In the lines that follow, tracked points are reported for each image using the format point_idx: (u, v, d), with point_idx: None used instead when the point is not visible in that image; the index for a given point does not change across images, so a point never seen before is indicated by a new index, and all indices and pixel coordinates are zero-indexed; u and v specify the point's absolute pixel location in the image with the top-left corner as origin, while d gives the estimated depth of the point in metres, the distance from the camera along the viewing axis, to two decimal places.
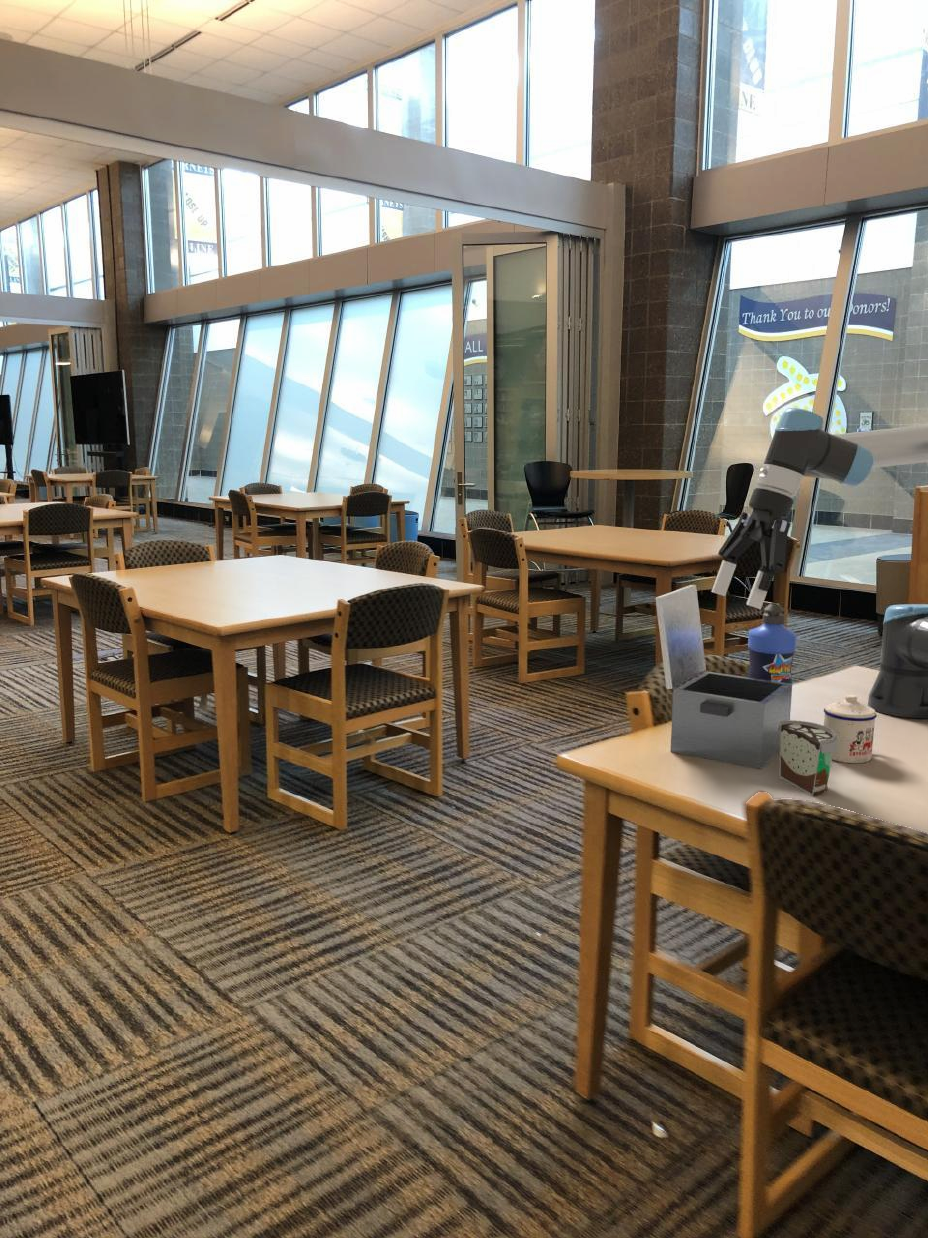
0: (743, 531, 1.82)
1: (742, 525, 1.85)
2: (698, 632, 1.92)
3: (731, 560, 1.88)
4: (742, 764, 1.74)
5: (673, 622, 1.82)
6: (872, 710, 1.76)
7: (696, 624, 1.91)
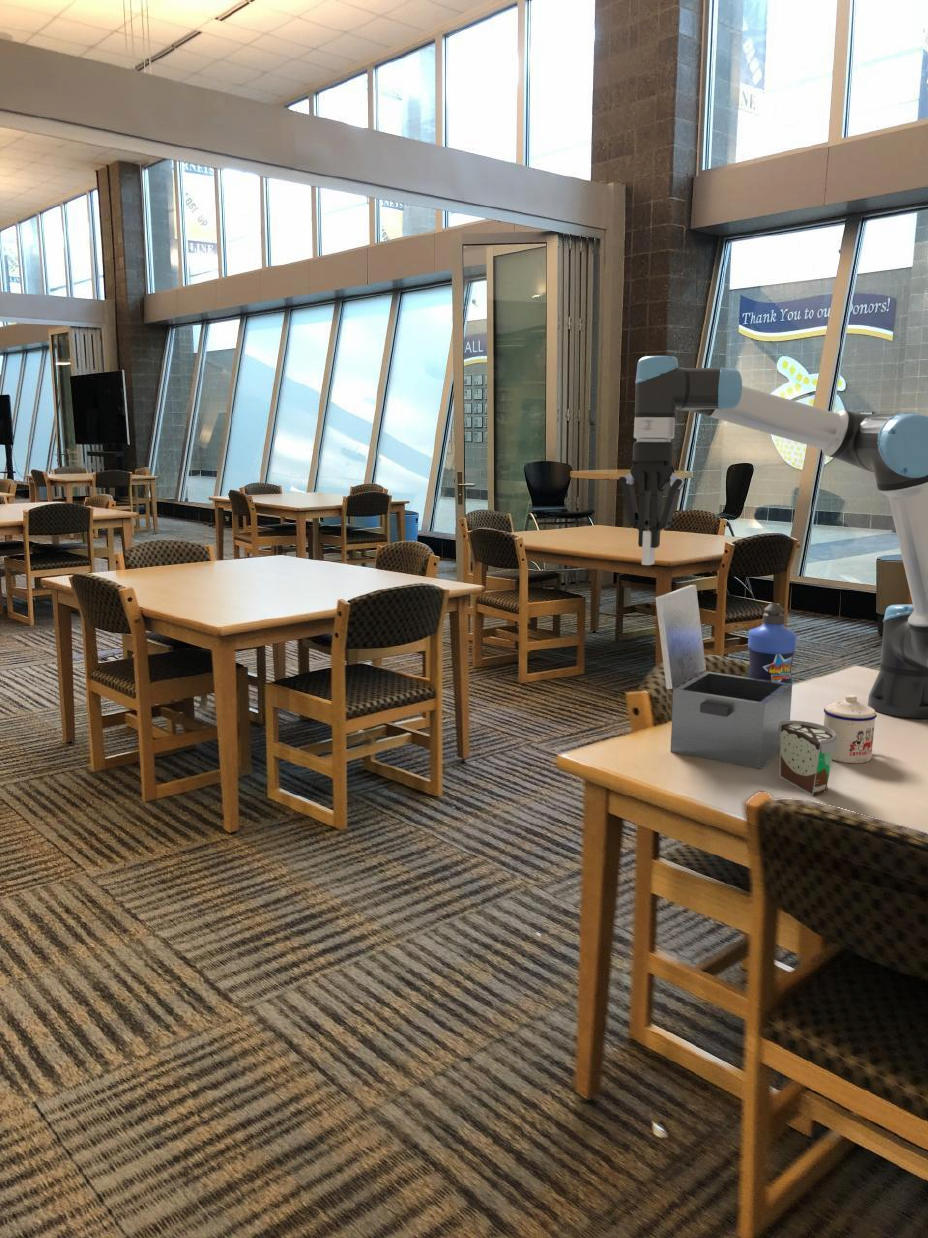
0: (642, 488, 1.84)
1: (629, 486, 1.86)
2: (698, 632, 1.92)
3: (647, 525, 1.87)
4: (742, 764, 1.74)
5: (673, 622, 1.82)
6: (872, 710, 1.76)
7: (696, 624, 1.91)
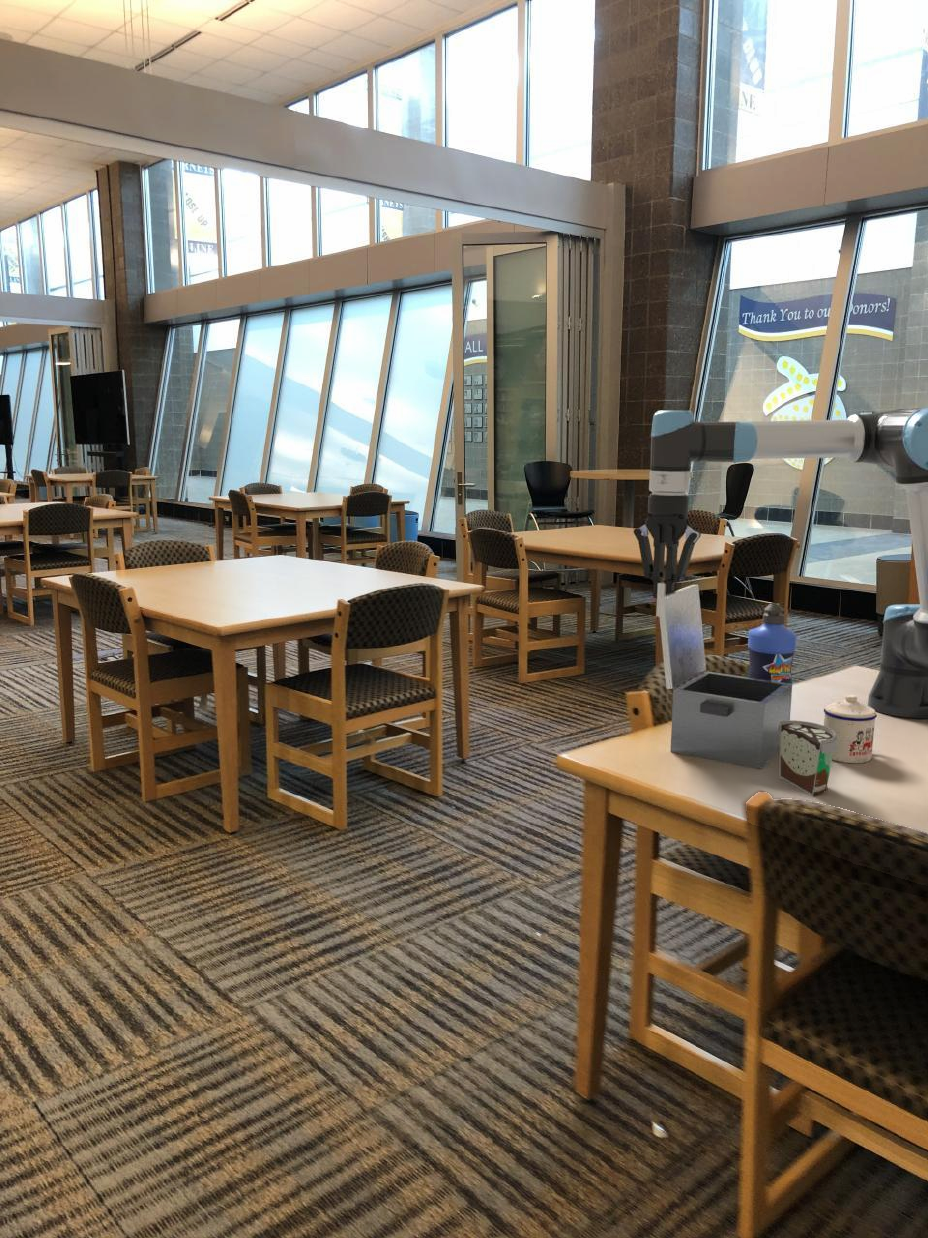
0: (657, 541, 1.84)
1: (644, 538, 1.86)
2: (699, 632, 1.91)
3: (661, 577, 1.87)
4: (742, 764, 1.74)
5: (675, 622, 1.81)
6: (872, 710, 1.76)
7: (697, 624, 1.91)
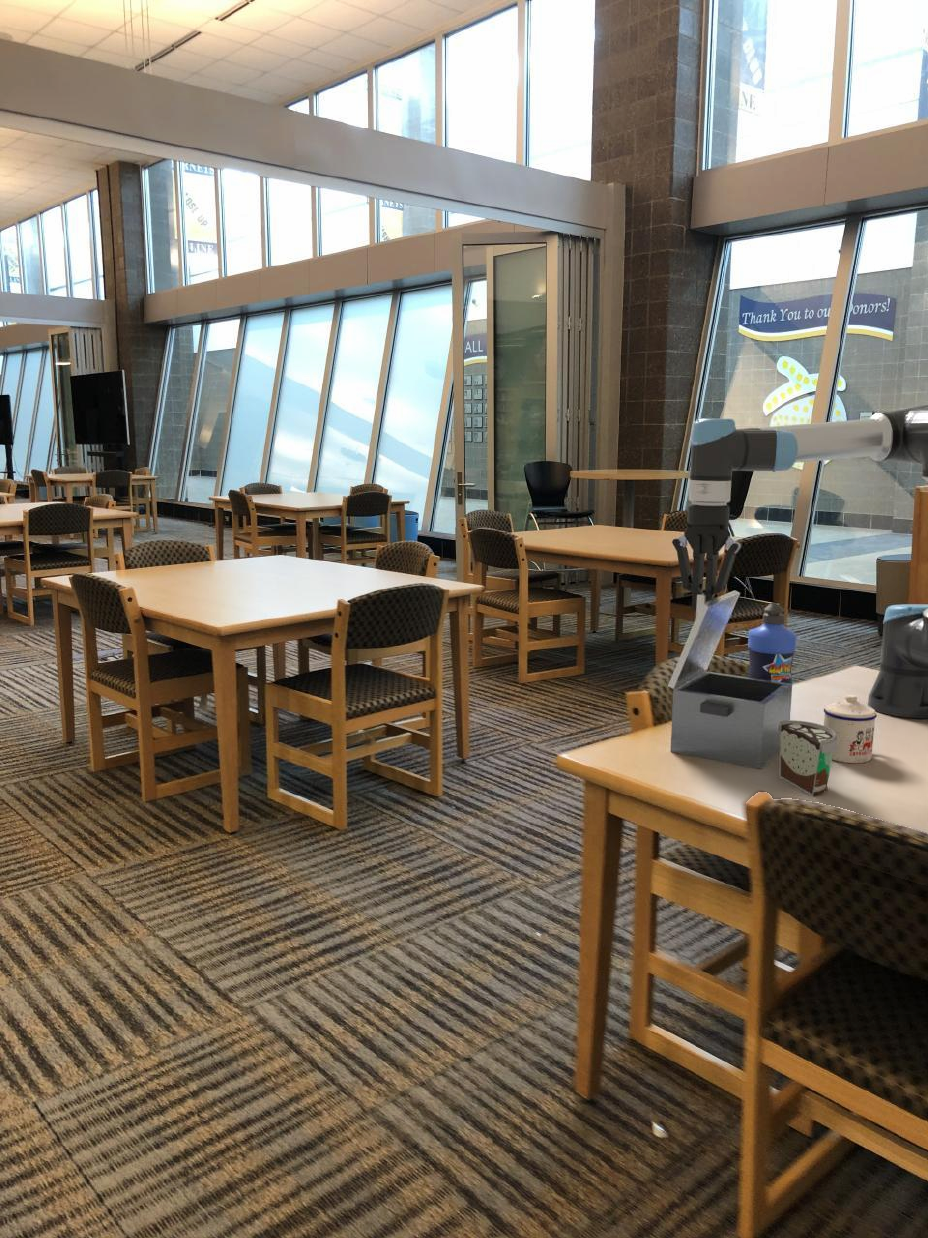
0: (696, 552, 1.80)
1: (683, 548, 1.82)
2: (718, 637, 1.89)
3: (701, 588, 1.83)
4: (742, 764, 1.74)
5: (705, 628, 1.78)
6: (872, 710, 1.76)
7: (721, 629, 1.88)
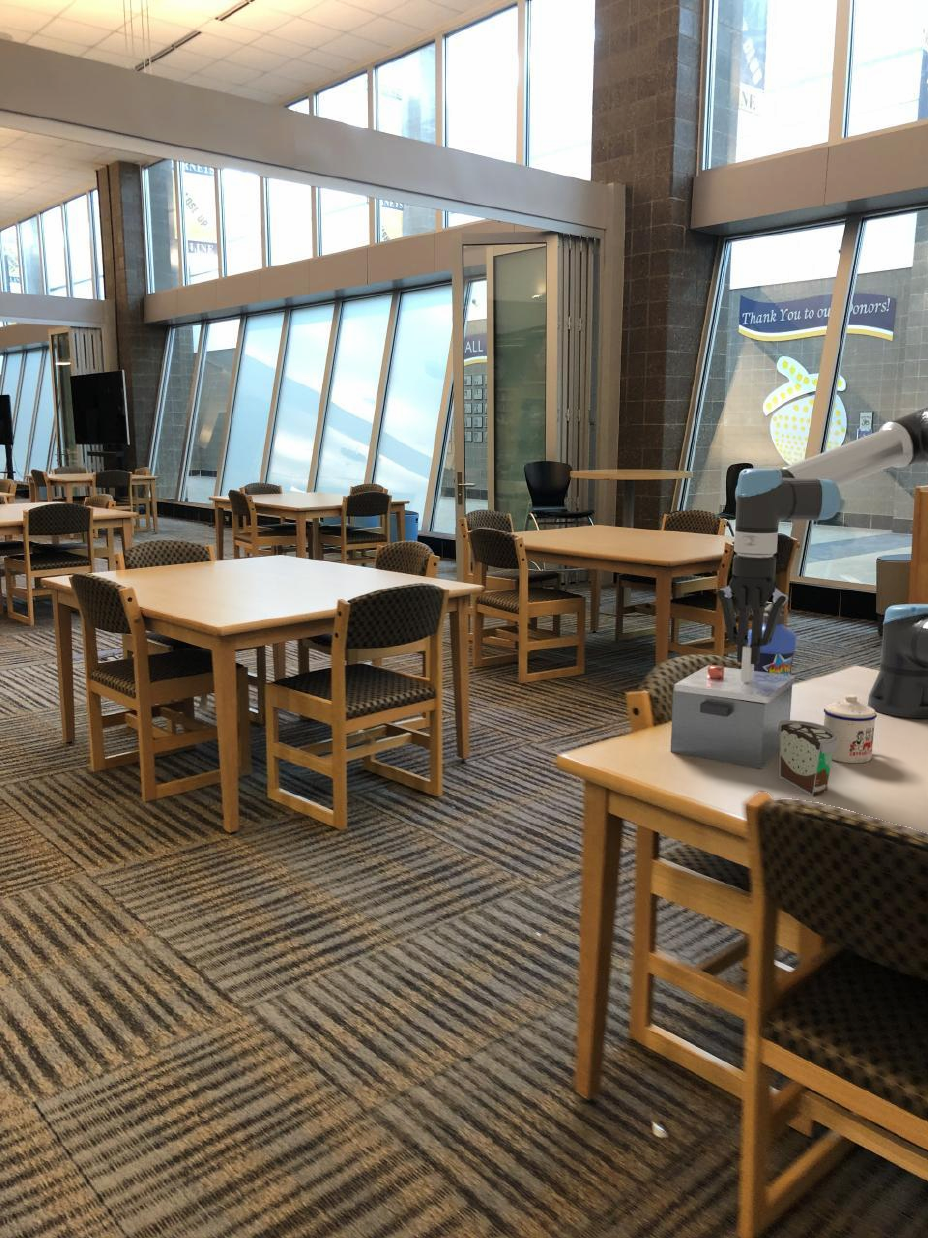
0: (742, 604, 1.77)
1: (728, 600, 1.79)
2: None
3: (746, 640, 1.79)
4: (742, 764, 1.74)
5: None
6: (872, 710, 1.76)
7: None
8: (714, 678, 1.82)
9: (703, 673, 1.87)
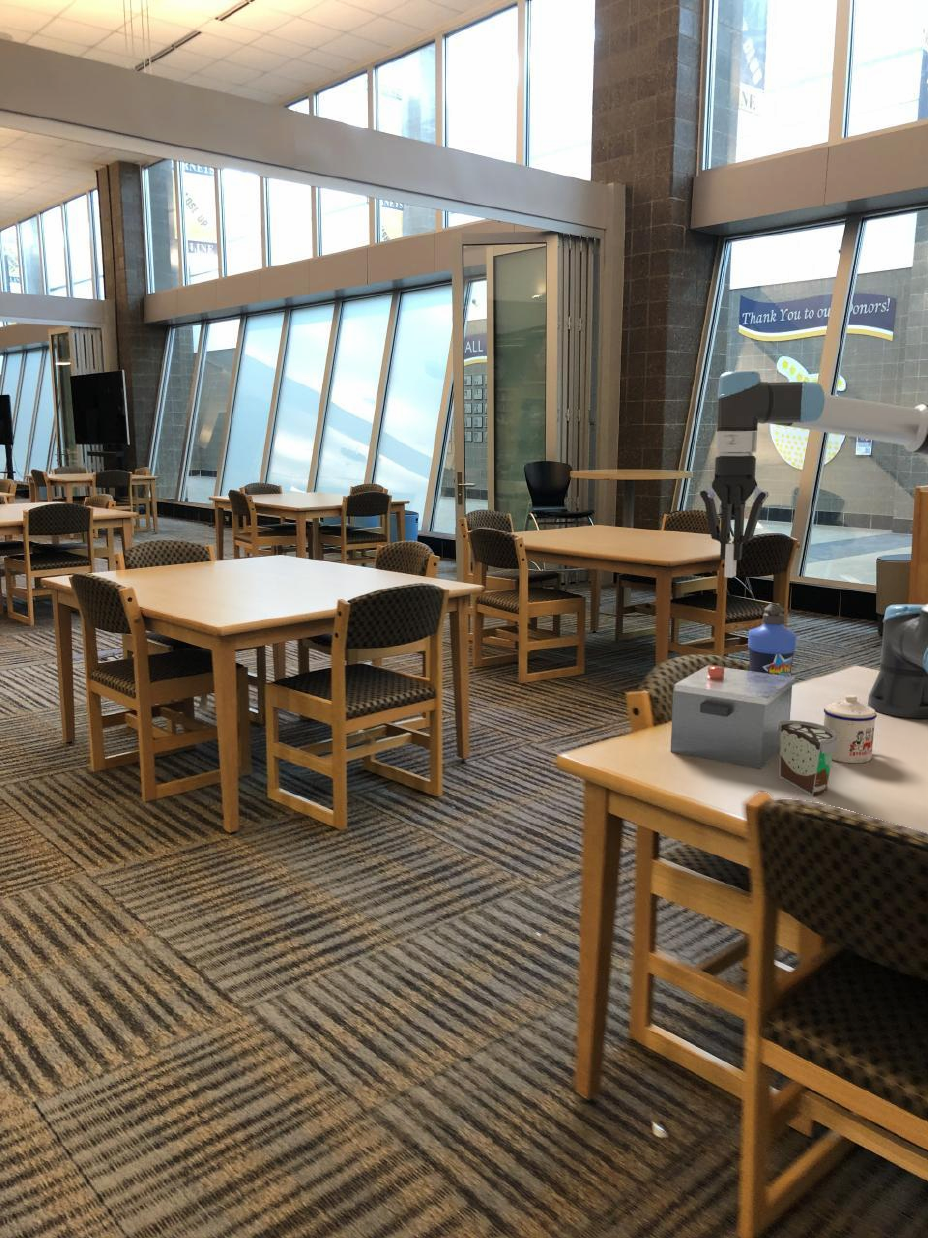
0: (724, 502, 1.86)
1: (710, 500, 1.88)
2: None
3: (728, 538, 1.89)
4: (742, 764, 1.74)
5: None
6: (872, 710, 1.76)
7: None
8: (714, 678, 1.82)
9: (703, 673, 1.87)
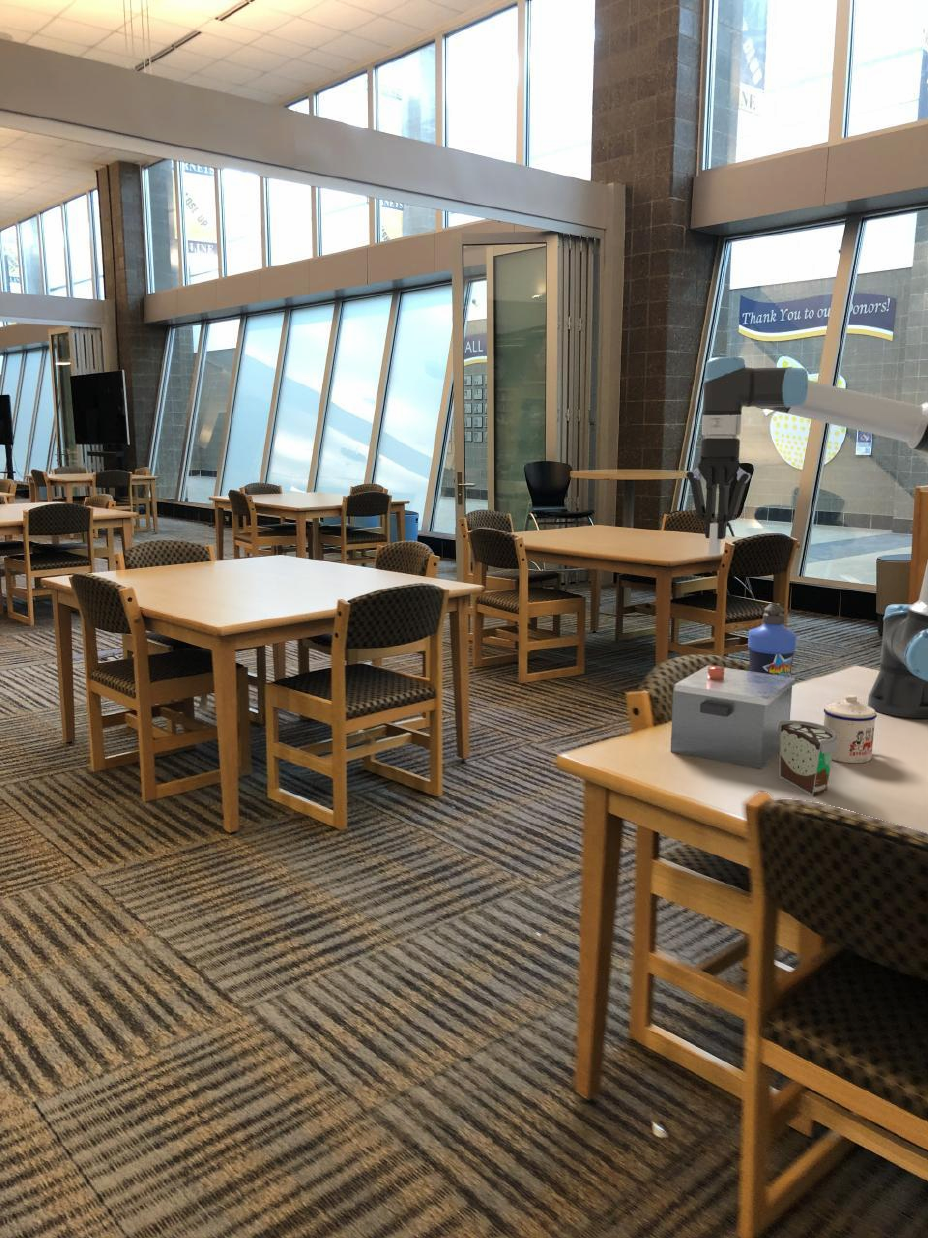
0: (709, 483, 1.94)
1: (696, 481, 1.96)
2: None
3: (713, 518, 1.97)
4: (742, 764, 1.74)
5: None
6: (872, 710, 1.76)
7: None
8: (714, 679, 1.82)
9: (703, 673, 1.87)
